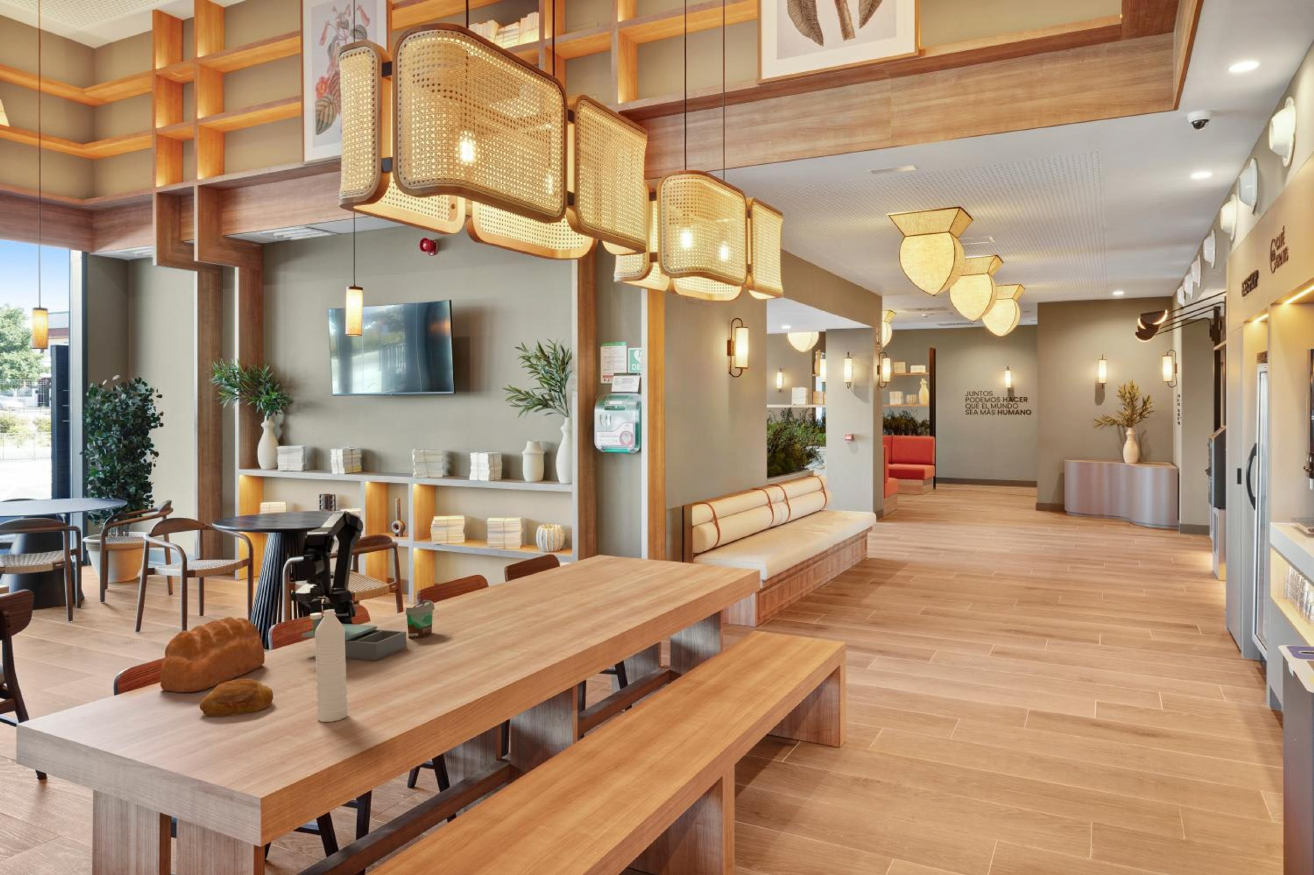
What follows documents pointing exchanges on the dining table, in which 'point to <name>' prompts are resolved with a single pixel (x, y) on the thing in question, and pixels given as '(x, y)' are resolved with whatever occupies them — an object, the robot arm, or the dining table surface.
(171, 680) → the bread
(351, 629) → the lid
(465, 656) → the dining table surface
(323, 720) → the water bottle
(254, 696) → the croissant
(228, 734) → the dining table surface
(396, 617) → the dining table surface
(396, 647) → the parts box
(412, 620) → the food container
